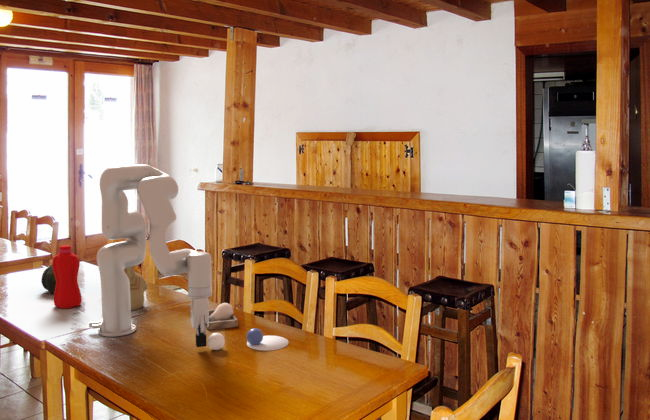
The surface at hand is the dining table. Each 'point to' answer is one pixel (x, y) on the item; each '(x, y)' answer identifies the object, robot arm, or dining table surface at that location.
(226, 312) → the light bulb
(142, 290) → the ceramic vessel
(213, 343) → the cue ball
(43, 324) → the dining table surface
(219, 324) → the brown wooden tray
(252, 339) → the object ball
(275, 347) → the white round disc
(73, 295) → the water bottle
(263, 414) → the dining table surface
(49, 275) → the squash
